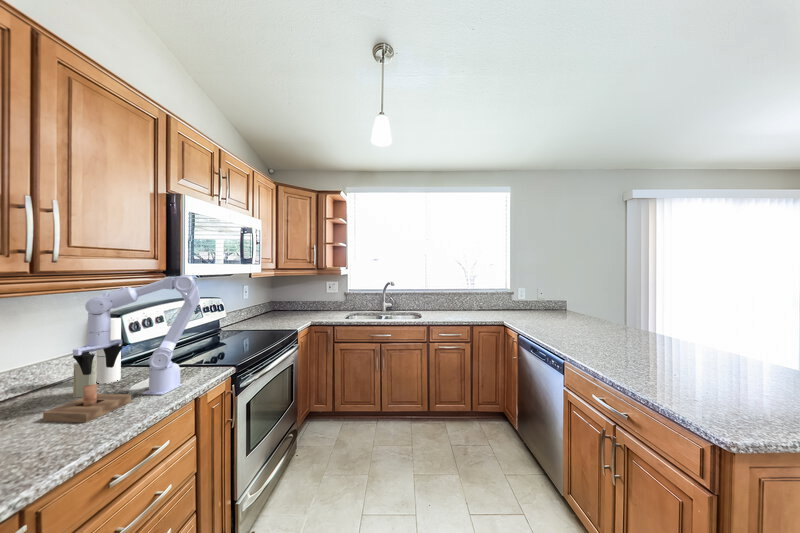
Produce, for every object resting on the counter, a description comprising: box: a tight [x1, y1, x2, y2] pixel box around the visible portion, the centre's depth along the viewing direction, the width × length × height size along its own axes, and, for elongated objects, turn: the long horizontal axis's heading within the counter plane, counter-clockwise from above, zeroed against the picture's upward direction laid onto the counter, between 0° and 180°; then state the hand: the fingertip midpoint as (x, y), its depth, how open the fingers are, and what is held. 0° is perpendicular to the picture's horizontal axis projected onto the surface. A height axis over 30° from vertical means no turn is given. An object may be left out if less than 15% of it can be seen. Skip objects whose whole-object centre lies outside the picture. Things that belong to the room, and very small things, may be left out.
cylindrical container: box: [96, 317, 122, 385], centre depth 125 cm, size 7×7×25 cm
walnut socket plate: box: [42, 393, 132, 423], centre depth 98 cm, size 14×14×2 cm
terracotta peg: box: [82, 383, 98, 407], centre depth 98 cm, size 3×3×8 cm
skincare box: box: [72, 357, 97, 399], centre depth 111 cm, size 6×4×12 cm
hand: (98, 370), depth 106 cm, fingers open, 7 cm apart
